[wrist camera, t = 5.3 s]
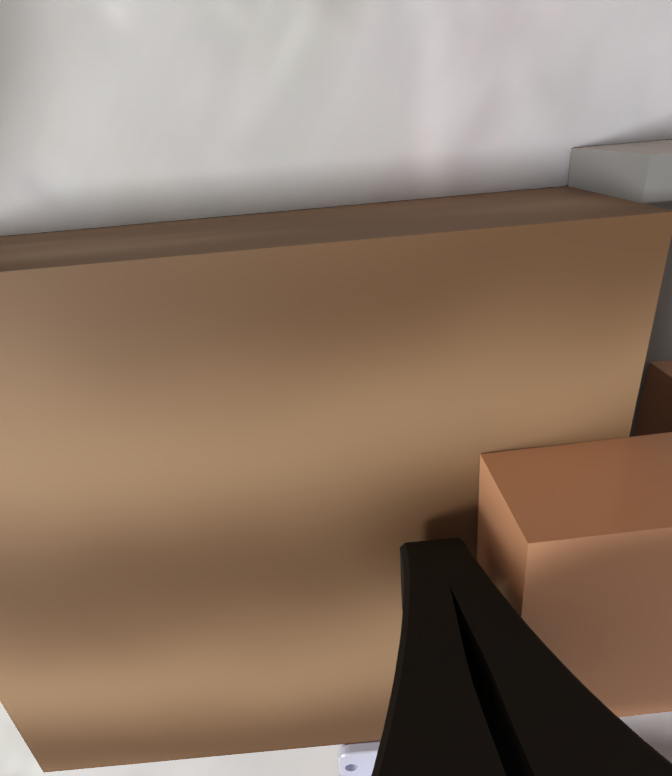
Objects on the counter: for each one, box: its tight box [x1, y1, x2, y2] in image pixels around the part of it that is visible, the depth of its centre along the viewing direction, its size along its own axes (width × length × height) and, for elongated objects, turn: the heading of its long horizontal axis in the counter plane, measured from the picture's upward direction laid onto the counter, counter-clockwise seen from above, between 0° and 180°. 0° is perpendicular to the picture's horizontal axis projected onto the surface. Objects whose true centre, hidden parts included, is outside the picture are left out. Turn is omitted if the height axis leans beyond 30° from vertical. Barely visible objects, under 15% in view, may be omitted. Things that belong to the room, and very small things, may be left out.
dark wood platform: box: [0, 186, 672, 772], centre depth 13 cm, size 14×15×4 cm
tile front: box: [477, 432, 672, 717], centre depth 10 cm, size 5×5×2 cm
